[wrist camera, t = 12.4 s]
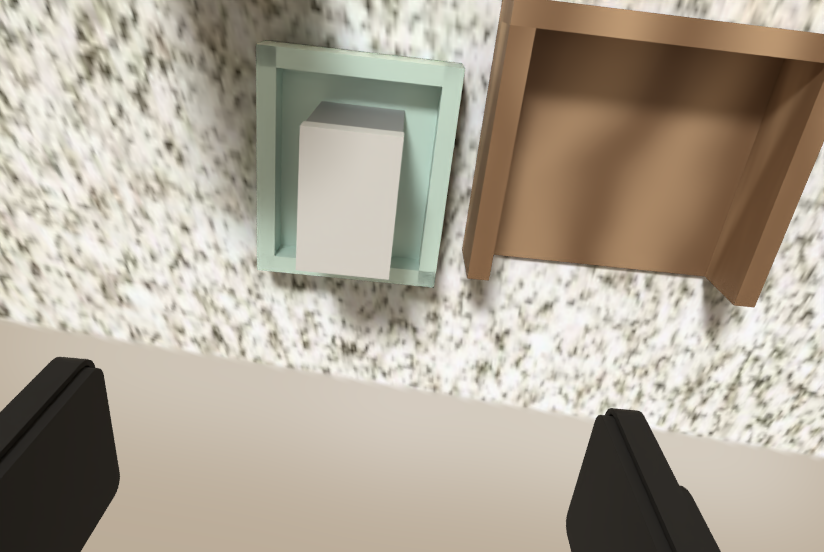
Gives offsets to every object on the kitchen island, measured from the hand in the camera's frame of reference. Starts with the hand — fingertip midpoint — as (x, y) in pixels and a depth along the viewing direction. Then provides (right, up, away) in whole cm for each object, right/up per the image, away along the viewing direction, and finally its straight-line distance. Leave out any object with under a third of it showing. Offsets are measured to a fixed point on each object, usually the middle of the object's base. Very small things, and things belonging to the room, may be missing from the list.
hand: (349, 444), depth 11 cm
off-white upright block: (-2, +9, +22) cm, 24 cm away
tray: (-2, +10, +23) cm, 25 cm away
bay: (+13, +10, +23) cm, 28 cm away
